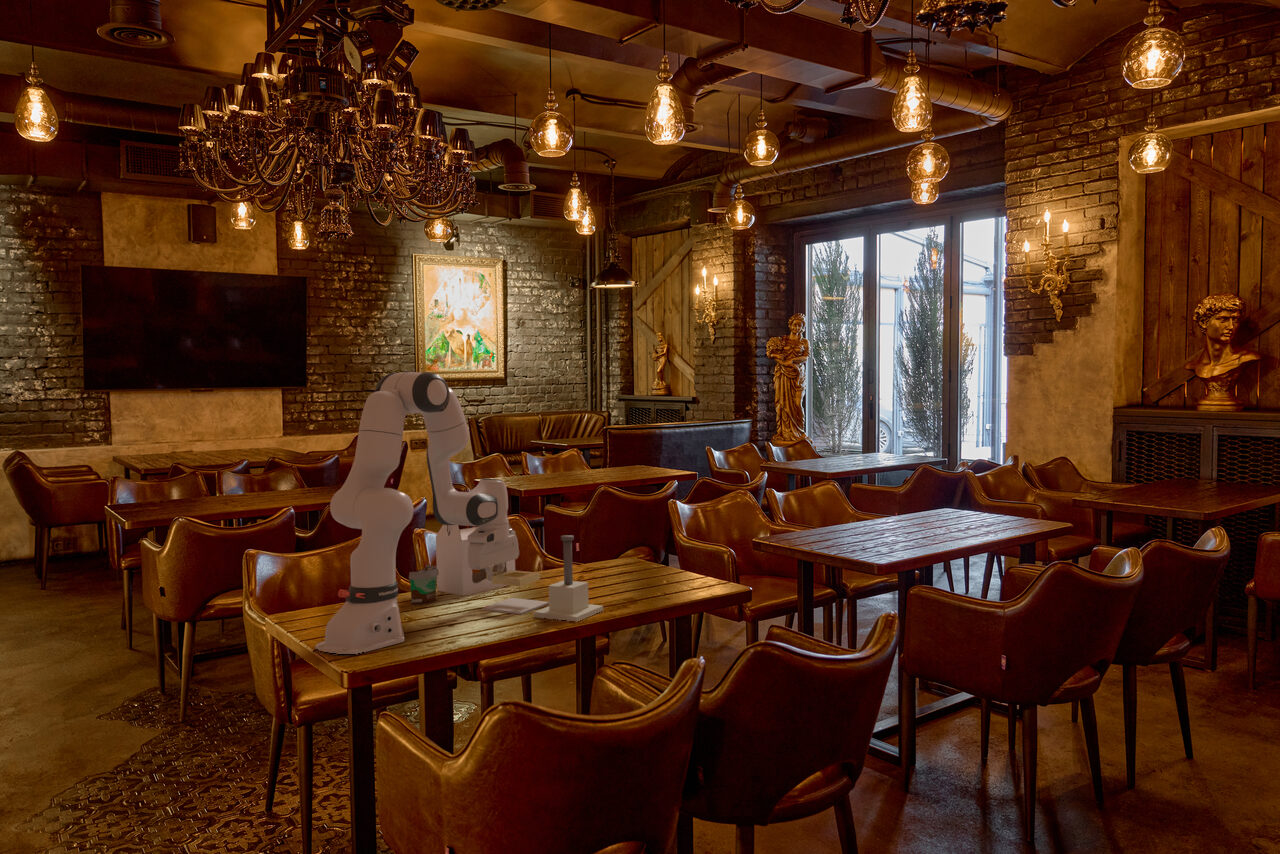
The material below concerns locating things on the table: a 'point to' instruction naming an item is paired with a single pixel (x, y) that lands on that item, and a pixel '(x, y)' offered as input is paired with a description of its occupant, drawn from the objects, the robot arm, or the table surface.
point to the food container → (423, 585)
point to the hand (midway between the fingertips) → (495, 579)
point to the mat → (515, 606)
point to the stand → (568, 593)
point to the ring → (514, 578)
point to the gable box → (460, 564)
